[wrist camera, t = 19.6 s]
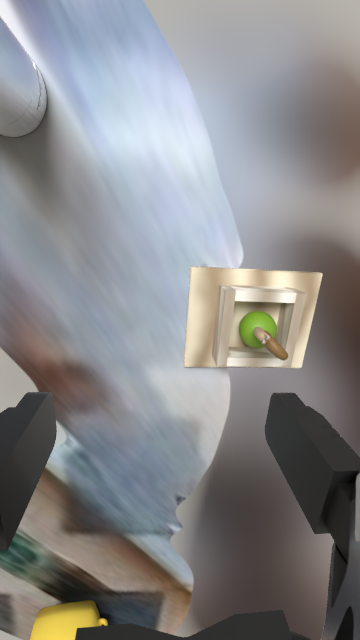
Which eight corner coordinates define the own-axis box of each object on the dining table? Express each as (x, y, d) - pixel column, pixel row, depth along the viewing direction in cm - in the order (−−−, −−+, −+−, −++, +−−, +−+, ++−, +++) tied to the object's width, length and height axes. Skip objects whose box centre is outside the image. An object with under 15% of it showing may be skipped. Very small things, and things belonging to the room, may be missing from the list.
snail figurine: (247, 295, 42) (282, 321, 31) (275, 321, 44) (317, 355, 32) (222, 321, 43) (247, 356, 32) (250, 345, 45) (283, 386, 33)
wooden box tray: (183, 363, 46) (187, 379, 41) (190, 266, 41) (195, 271, 36) (298, 365, 48) (314, 380, 43) (319, 272, 43) (339, 278, 38)
